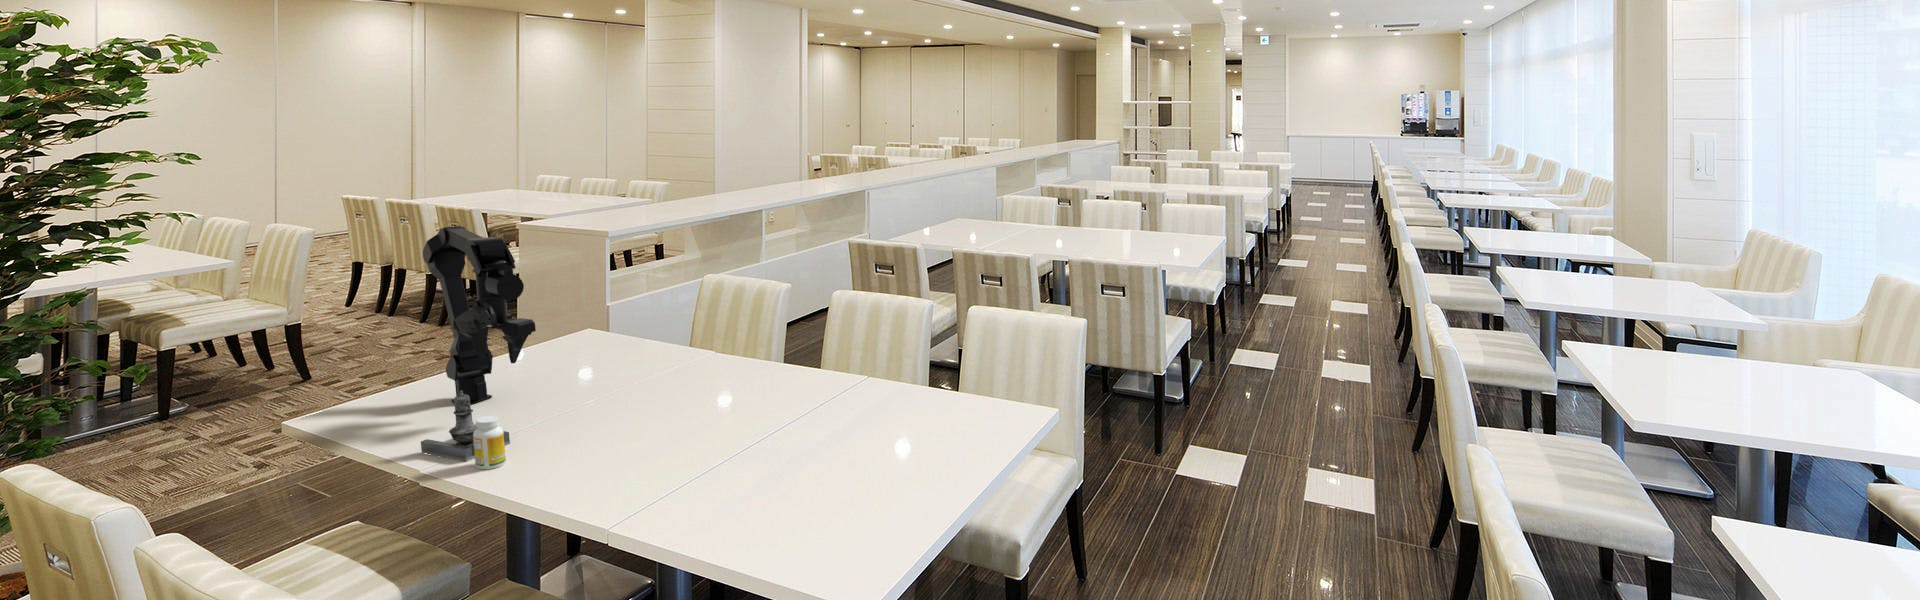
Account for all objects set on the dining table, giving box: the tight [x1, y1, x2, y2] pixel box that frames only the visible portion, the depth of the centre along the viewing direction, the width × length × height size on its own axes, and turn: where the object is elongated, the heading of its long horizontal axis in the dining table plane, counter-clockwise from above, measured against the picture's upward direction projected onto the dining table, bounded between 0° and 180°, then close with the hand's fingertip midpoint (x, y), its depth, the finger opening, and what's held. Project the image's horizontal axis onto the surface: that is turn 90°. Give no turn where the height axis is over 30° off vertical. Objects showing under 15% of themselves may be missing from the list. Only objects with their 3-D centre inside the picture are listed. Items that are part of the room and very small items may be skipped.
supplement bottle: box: [473, 415, 507, 470], centre depth 180 cm, size 5×5×10 cm
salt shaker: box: [448, 390, 478, 449], centre depth 189 cm, size 6×6×12 cm
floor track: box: [420, 430, 511, 462], centre depth 189 cm, size 12×11×3 cm
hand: (497, 361), depth 208 cm, fingers open, 9 cm apart
